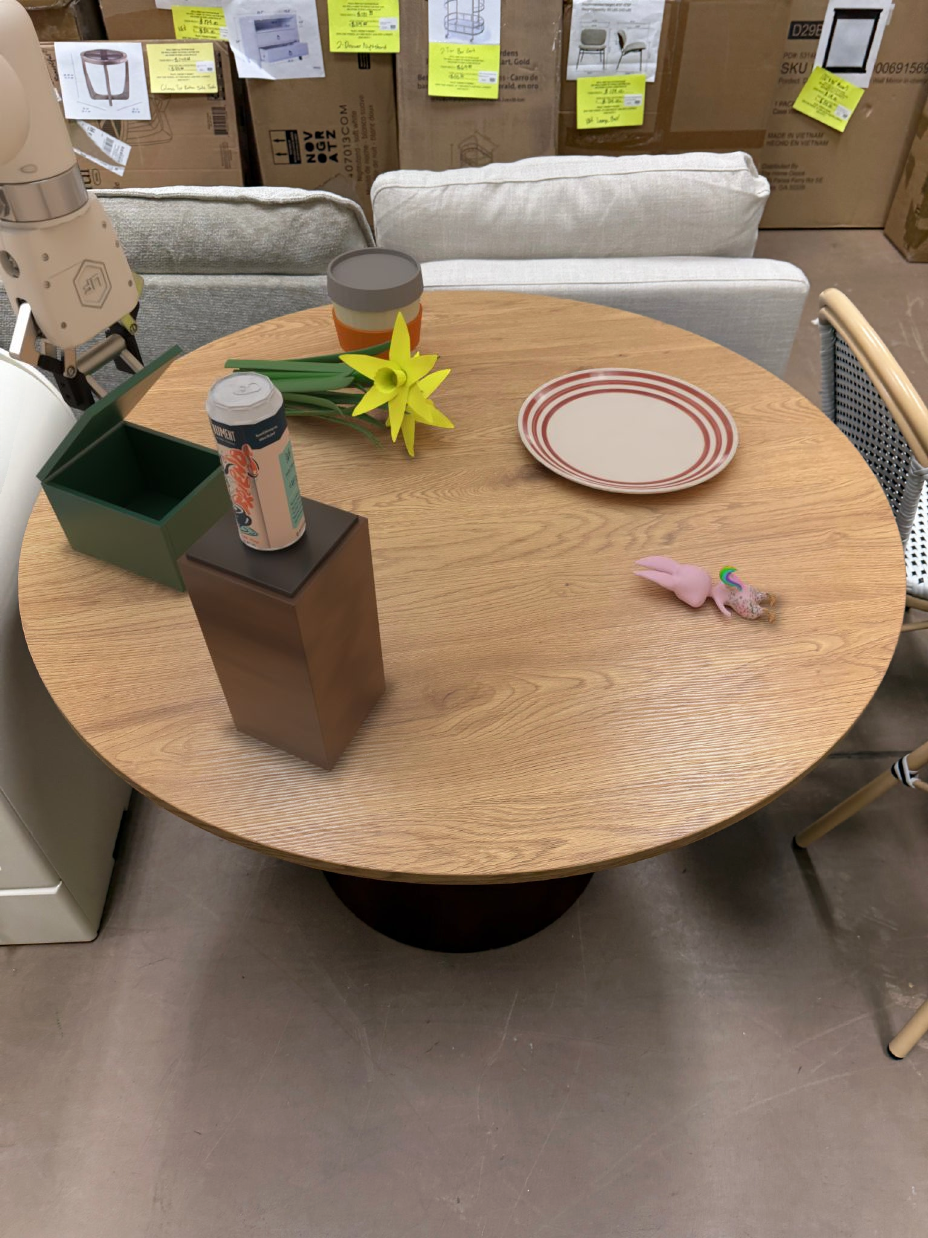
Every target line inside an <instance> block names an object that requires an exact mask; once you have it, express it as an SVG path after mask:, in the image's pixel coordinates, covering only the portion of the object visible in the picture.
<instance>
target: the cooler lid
mask: <svg viewBox="0 0 928 1238" xmlns="http://www.w3.org/2000/svg"><path fill="white" fill-rule="evenodd" d="M183 351H184V350H183V349H182V348H181V346H180V345H178V344H177V343H176V344H175V345H173V346H172V347H170V348H169V349H168V350H166V351H164V352H163V353H162V354H161V355H159V356H158V357H156V358H155V359H154V360H153V361H151V362H149V363H148V364H147V365H146V366H144V367H143V366H142V365H141V364H140V363H139V361H138V360H137V359H136V358H135V357H134V356H133V355H132V354H131V353H130V352H129V351H128V350H127V343H126V341H125V340H124V339H123V338H122V337H121V336H120V335H119V334H112V335H111V336H109V337H108V338H106V337H105V338H104V339H103V340H101V341H100V342H98V343H97V344H96V345H93V346H92V347H91V348H89V349H88V350H86V351H84V352H83V353H82V354H81V355H79V356H76V365H77V371H79V372H82V373H83V374H84V375H85V377H86V379H87V382H88V384H89V387H90V390H91V392H92V394H93V395H95V397H96V398H97V399H98V400H97V401H95V403H94V404H93V405H92V406H90V407H89V408H88V409H86V410H85V411H83V412H82V414H81V416H80V417H79V418H78V419H77V421H76V422H75V423H74V425H73V426H72V427H71V429H70V430H69V431H68V433H67V434H66V435H65V437H64V438H63V440H61V442H60V443H59V444H58V445H57V446H56V448H55V450H54V451H53V452H52V454H51V455H50V456H49V458H48V459H47V460H46V461H45V463H44V464H43V466H42V467H41V469H40V470H39V471H38V472H37V474H36V475H35V478H36V479H38V481H40V483H41V482H43V481H44V480H45V479H46V478H48V477H49V476H50V475H52V474H53V473H54V472H56V471H57V470H58V469H60V468H61V467H62V466H63V465H65V464H66V463H67V462H69V461H70V460H71V459H73V458H74V457H75V456H77V455H78V454H79V453H80V452H82V451H83V450H84V449H86V448H87V447H88V446H90V445H91V444H92V443H94V442H95V441H96V440H97V439H99V438H100V437H101V436H103V435H104V434H105V433H107V432H108V431H109V430H111V429H112V428H113V427H114V426H116V425H117V424H118V423H120V422H121V421H122V420H126V418H127V417H128V415H130V413H131V412H132V411H133V410H134V408H135V407H136V406H137V405H138V404H139V403H140V401H141V400H142V399H143V398H144V397H145V395H146V394H147V393H148V392H149V391H150V389H152V388H153V386H154V385H155V384H156V382H158V381H159V379H160V378H161V377H162V376H163V375H164V374H165V372H166V371H167V370H168V368H169V367H170V366H171V365H172V364H173V363H174V362H175V360H177V358H178V357H179V355H181V354H182V352H183ZM119 355H120V356H121V358H122V359H123V360H124V361H125V362H126V363H127V364H128V365H129V366H130V367H131V368H132V369H133V370H134V371H135V372H136V374H134V375H133V374H132V376H130V377H129V378H127V379H126V380H125V381H124V382H122V383H121V384H119V385H117V386H116V387H115V388H114V389H112V390H111V391H109V392H108V393H107V391H105V389H104V388H103V387H102V386H101V385H100V384H99V383H98V382H97V381H96V380H95V379H94V378H93V377H92V375H93V374H95V373H96V372H97V371H99V370H101V369H102V368H103V367H105V366H107V365H108V364H109V363H110V362H111V363H112V361H114V359H115V358H116V357H118V356H119Z"/></svg>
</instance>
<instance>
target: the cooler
mask: <svg viewBox="0 0 928 1238" xmlns="http://www.w3.org/2000/svg"><path fill="white" fill-rule="evenodd" d="M40 485H41V488H42V490H43V491H44V494H45V496H46V498H47V501H48V502H49V504H50V506H51V509H52V510H53V512H54V515H55V516H56V519H57V521H58V522H59V525H60V528H61V529H62V531H63V533H64V536H65V537H66V539H67V541H68V544H69V546H70V548H71V550H74V551H76V552H78V553H81V554H84V555H86V556H89V557H92V558H94V559H98V560H99V561H102V562H105V563H107V564H110V565H112V566H115V567H117V568H120V569H122V570H125V571H127V572H130V573H132V574H135V575H137V576H140V577H143V578H145V579H147V580H151V581H153V582H156V583H158V584H160V585H163V586H165V587H168V588H171V589H173V590H176V591H179V592H181V593H186V591H187V588H186V586H185V583H184V580H183V577H182V574H181V571H180V569H179V566H178V563H177V560H178V559H179V558H180V557H181V556H182V555H183V554H184V553H185V552H186V551H187V550H188V549H189V548H190V547H191V546H192V545H193V544H194V543H195V542H196V541H197V540H198V539H200V538H201V537H202V536H203V535H204V534H205V533H206V532H207V531H208V530H209V529H210V528H211V527H212V526H213V525H214V524H215V523H216V522H217V521H218V520H219V519H220V518H221V517H222V516H223V515H224V514H225V513H226V512H227V511H228V510H229V509H230V508H231V507H232V503H231V499H230V495H229V492H228V488H227V484H226V480H225V477H224V473H223V469H222V465H221V462H220V458H219V454H218V450H217V449H214V448H211V447H208V446H204V445H201V444H199V443H195V442H192V441H189V440H186V439H183V438H180V437H177V436H175V435H171V434H168V433H165V432H162V431H159V430H156V429H154V428H150V427H147V426H144V425H141V424H138V423H134V422H132V421H128V420H126V419H124V420H122V421H121V422H120V423H118V424H117V425H116V426H114V427H113V428H112V429H111V430H109V431H108V432H107V433H105V434H104V435H103V436H101V437H100V438H99V439H97V440H96V441H95V442H94V443H92V444H91V445H90V446H88V447H87V448H86V449H84V450H83V451H82V452H80V453H79V454H78V455H77V456H75V457H74V458H73V459H71V460H70V461H69V462H67V463H66V464H65V465H63V466H62V467H61V468H60V469H58V470H57V471H56V472H54V473H53V474H52V475H50V476H49V477H48V478H46V479H45V480H44V481H43V482H41V481H40Z"/></svg>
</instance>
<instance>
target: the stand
mask: <svg viewBox="0 0 928 1238" xmlns="http://www.w3.org/2000/svg"><path fill="white" fill-rule="evenodd" d="M300 496H301V501H302V507H303V512H304V518H305V523H306V526H305V531H304V533H303V535H302V536H301V537H300V538H299V539H298V540H297V541H296V542H294V543H293V544H291V545H290V546H287V547H285V548H283V549H278V550H257V549H254V548H252V547H250V546H248V545H246V544H245V543H244V542H243V541H242V539H241V538H240V534H239V529H238V525H237V522H236V518H235V514H234V510H233V507H231V508H230V509H229V510H228V511H227V512H226V513H225V514H224V515H223V516H222V517H221V518H220V519H219V520H218V521H217V522H216V523H215V524H214V525H213V526H212V527H211V528H210V529H209V530H208V531H207V532H206V533H205V534H204V535H203V536H202V537H201V538H200V539H198V540H197V541H196V542H195V543H194V544H193V545H192V546H191V547H190V548H189V549H188V550H187V551H186V552H185V553H184V554H183V555H182V556H181V557H180V558H179V559H178V560H177V563H178V566H179V569H180V571H181V574H182V577H183V580H184V583H185V586H186V588H187V590H186V591H187V595H188V597H189V600H190V603H191V605H192V608H193V611H194V614H195V616H196V619H197V622H198V626H199V628H200V631H201V633H202V636H203V639H204V642H205V644H206V647H207V650H208V653H209V656H210V659H211V661H212V665H213V667H214V670H215V673H216V676H217V679H218V681H219V684H220V687H221V691H222V693H223V695H224V698H225V701H226V704H227V706H228V709H229V712H230V715H231V718H232V721H233V724H234V727H235V729H236V731H237V732H239V733H241V734H243V735H245V736H249V737H250V738H253V739H255V740H257V741H260V742H262V743H264V744H266V745H269V746H271V747H274V748H275V749H277V750H280V751H282V752H285V753H287V754H289V755H291V756H294V757H296V758H298V759H300V760H302V761H305V762H307V763H310V764H311V765H314V766H315V767H318V768H321V769H323V770H325V771H328V772H332V770H333V769H334V767H335V766H336V764H338V762H339V760H340V759H341V757H342V755H343V754H344V752H345V751H346V750H347V748H348V746H350V744H351V742H352V741H353V739H354V738H355V736H356V735H357V733H358V732H359V730H360V729H361V727H362V726H363V724H364V723H365V721H366V720H367V719H368V717H369V716H370V715H371V713H372V711H373V710H374V708H375V707H376V706H377V704H378V702H379V701H380V699H381V698H382V696H383V695H384V693H385V692H386V690H387V688H386V678H385V669H384V658H383V650H382V640H381V639H382V638H381V631H380V622H379V621H380V620H379V611H378V604H377V603H378V602H377V592H376V584H375V583H376V582H375V574H374V573H375V572H374V564H373V555H372V554H373V553H372V545H371V536H370V526H369V525H370V524H369V518H368V517H365V516H362V515H360V514H357V513H353V512H350V511H348V510H344V509H341V508H338V507H335V506H333V505H329V504H326V503H323V502H320V501H318V500H314V499H311V498H309V497H305V496H303V495H300Z"/></svg>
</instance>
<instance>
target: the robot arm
mask: <svg viewBox="0 0 928 1238" xmlns="http://www.w3.org/2000/svg"><path fill="white" fill-rule="evenodd" d="M0 278H1V280H2V283H3V286H4V289H5V292H6V295H7V298H8V300H9V302H10V306H11V308H12V310H13V313H14V316H15V318H16V321H15V325H14V328H13V329H14V330H13V333H12V337H11V341H10V344H9V348H8V349H9V350H8V355H9V357H10V358H11V359H12V360H16V361H18V362H21V363H24V364H27V365H29V366H32V367H35V368H38V369H40V370H43V371H45V372H48V373H51V374H52V375H53V379H54V381H55V383H56V385H57V388H58V390H59V392H60V395H61V397H62V399H63V401H64V403H65V404H66V405H67V406H68V407H70V408H72V409H75V410H79V411H82V412H85V410H86V409H88V408H89V407H90V406H92V405H93V404H94V403H96V400H95V397H94V394H93V392H92V391H91V390H90V387H89V384H88V382H87V379H86V377H85V375H84V374H83V373H82V372H79V371H77V365H76V358H77V348H79V347H81V346H82V345H85V343H87V342H89V341H90V340H92V339H94V338H95V337H96V336H98V335H100V334H101V333H103V332H104V334H105V339H106V338H108V337H109V336H111V335H112V334H119V335H120V336H121V337H122V338H123V339H124V340H125V341H126V343H127V350H128V351H129V352H130V353H131V354H132V355H133V356H134V357H135V358H136V359H137V360H138V361H139V363H140V364H141V365H142V366H143V367H145V364H144V361H143V357H142V355H141V351H140V349H139V345H138V342H137V339H136V335H137V334H138V332H139V325H138V323H137V317H138V314H139V311H140V307H141V305H140V304H141V303H140V301H139V300H140V299H141V297H142V292H143V289H144V286H145V279H144V277H143V276H142V275H140V274H138V273H136V272H135V271H133V270H132V269H131V267H130V265H129V262H128V259H127V256H126V254H125V251H124V249H123V246H122V243H121V241H120V239H119V237H118V234H117V232H116V230H115V228H114V226H113V224H112V221H111V219H110V217H109V215H108V213H107V212H106V210H105V208H104V207H103V205H102V203H101V202H100V200H99V198H98V196H97V194H96V193H94V192H92V191H90V190H89V191H88V190H87V187H86V184H85V180H84V178H83V174H82V172H81V168H80V165H79V162H78V159H77V155H76V152H75V149H74V145H73V143H72V140H71V137H70V134H69V130H68V126H67V125H66V121H65V118H64V116H63V112H62V109H61V106H60V103H59V99H58V96H57V94H56V90H55V87H54V84H53V81H52V78H51V75H50V71H49V69H48V65H47V62H46V59H45V56H44V53H43V50H42V46H41V44H40V40H39V37H38V34H37V31H36V29H35V26H34V23H33V21H32V18H31V17H30V15H29V13H28V11H27V10H26V8H25V7H24V6H23V5H22V4H21V3H20V1H17V0H0ZM37 340H40V350H41V352H39V351H38V350H37V349H36V342H37ZM58 348H59V350H60V351H59V352H60V359H58ZM113 363H114V365H115V368H116V370H118V371H119V372H123V373H126V374H130V375H132V376H133V375H134V374H136V372H135V371H134V370H133V369H132V368H131V367H130V366H129V365H128V364H127V363H126V362H125V361H124V360H123V359H122V358H121V356H120V355H119V356H118V357H116V358H115V359H114V360H113Z"/></svg>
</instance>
